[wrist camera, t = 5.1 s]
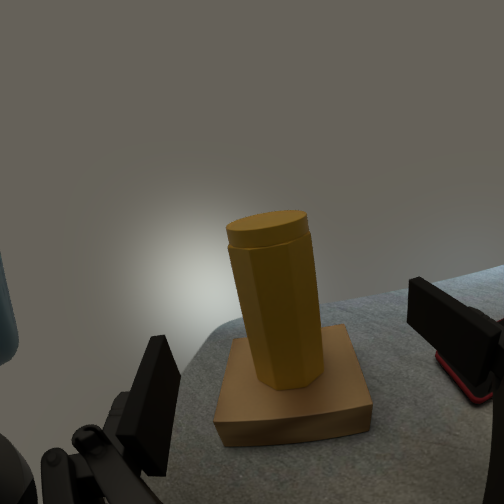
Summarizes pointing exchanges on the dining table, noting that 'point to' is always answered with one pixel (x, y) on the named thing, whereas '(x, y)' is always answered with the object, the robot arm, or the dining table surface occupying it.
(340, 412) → the stand
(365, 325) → the dining table surface
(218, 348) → the dining table surface
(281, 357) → the jar
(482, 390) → the smartphone
